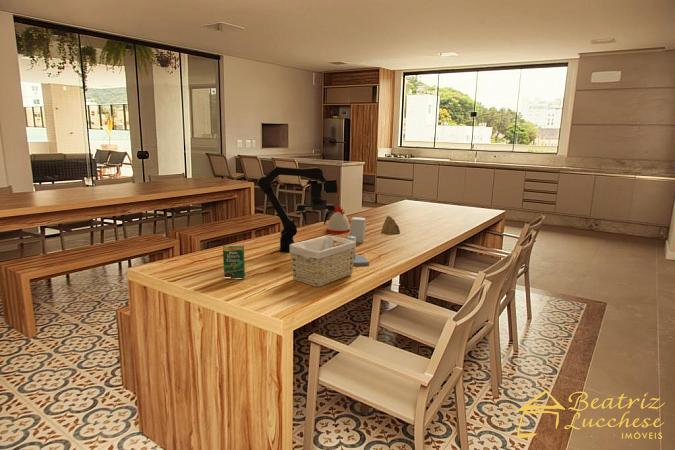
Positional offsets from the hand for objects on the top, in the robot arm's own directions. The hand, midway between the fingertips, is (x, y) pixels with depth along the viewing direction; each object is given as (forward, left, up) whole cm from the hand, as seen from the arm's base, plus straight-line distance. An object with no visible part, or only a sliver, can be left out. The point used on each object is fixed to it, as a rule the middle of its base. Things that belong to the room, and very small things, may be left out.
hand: (315, 224), depth 215 cm
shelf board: (+14, -22, -13) cm, 29 cm away
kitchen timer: (+20, +44, -13) cm, 50 cm away
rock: (+51, +37, -13) cm, 64 cm away
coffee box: (-37, -41, -13) cm, 57 cm away
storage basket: (-2, -42, -13) cm, 44 cm away
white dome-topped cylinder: (+14, -21, -12) cm, 28 cm away
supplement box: (+26, +18, -13) cm, 34 cm away
